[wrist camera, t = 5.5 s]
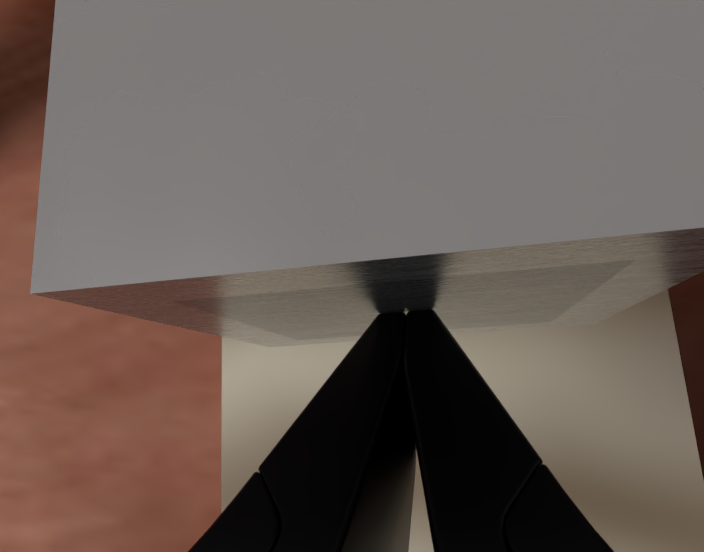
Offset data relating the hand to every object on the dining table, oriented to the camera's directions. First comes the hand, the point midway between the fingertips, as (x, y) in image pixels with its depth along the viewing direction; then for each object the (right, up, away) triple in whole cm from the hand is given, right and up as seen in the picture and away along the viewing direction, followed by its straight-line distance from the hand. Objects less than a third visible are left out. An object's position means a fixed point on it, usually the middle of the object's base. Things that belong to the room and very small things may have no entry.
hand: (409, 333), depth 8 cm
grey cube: (0, +3, +4) cm, 5 cm away
